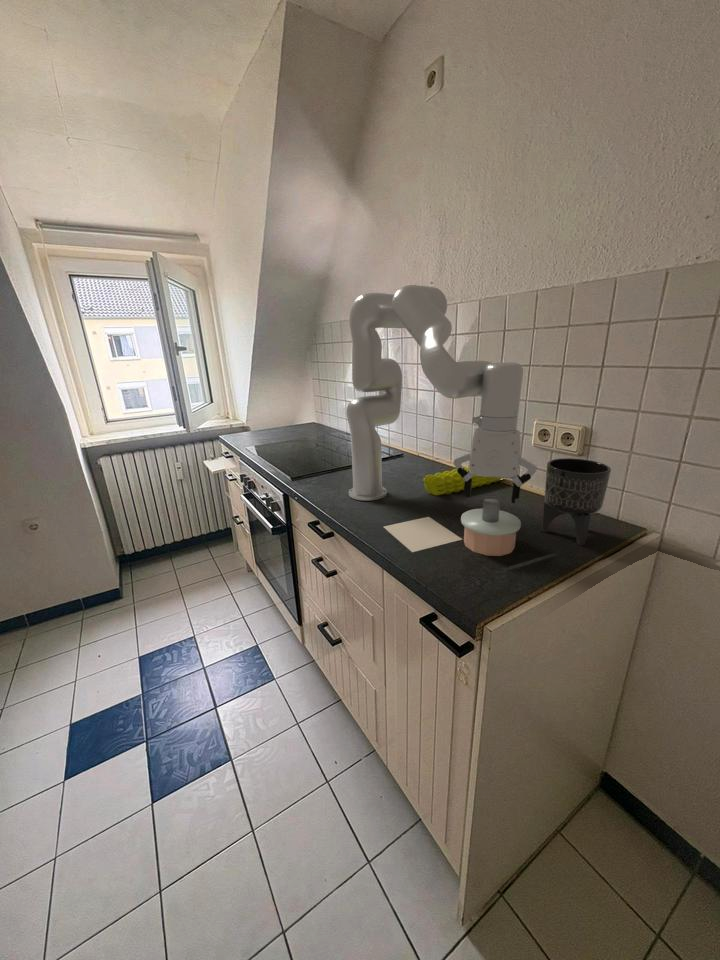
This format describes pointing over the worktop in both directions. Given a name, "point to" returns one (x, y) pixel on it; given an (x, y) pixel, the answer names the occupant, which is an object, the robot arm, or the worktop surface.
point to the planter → (574, 492)
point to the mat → (421, 534)
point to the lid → (490, 519)
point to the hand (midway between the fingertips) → (490, 498)
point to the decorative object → (452, 482)
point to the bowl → (489, 543)
